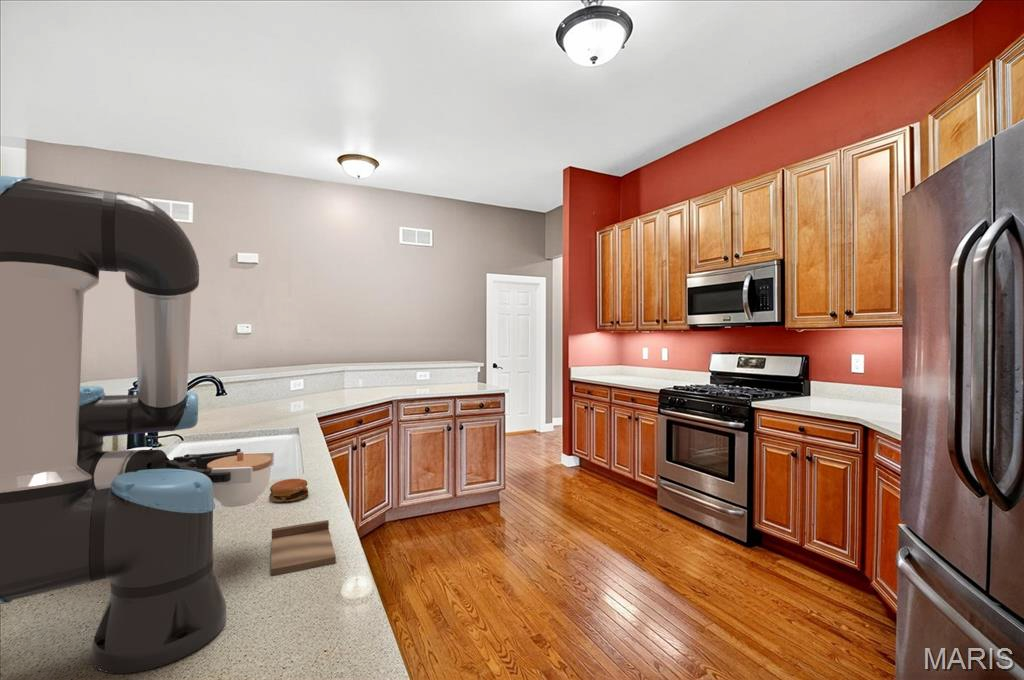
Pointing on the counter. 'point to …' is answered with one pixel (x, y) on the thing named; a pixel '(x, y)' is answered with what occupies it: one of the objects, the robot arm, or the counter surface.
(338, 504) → the counter surface
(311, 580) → the counter surface
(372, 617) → the counter surface
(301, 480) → the burger
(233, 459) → the lidded jar
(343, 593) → the counter surface
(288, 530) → the walnut board
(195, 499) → the robot arm
